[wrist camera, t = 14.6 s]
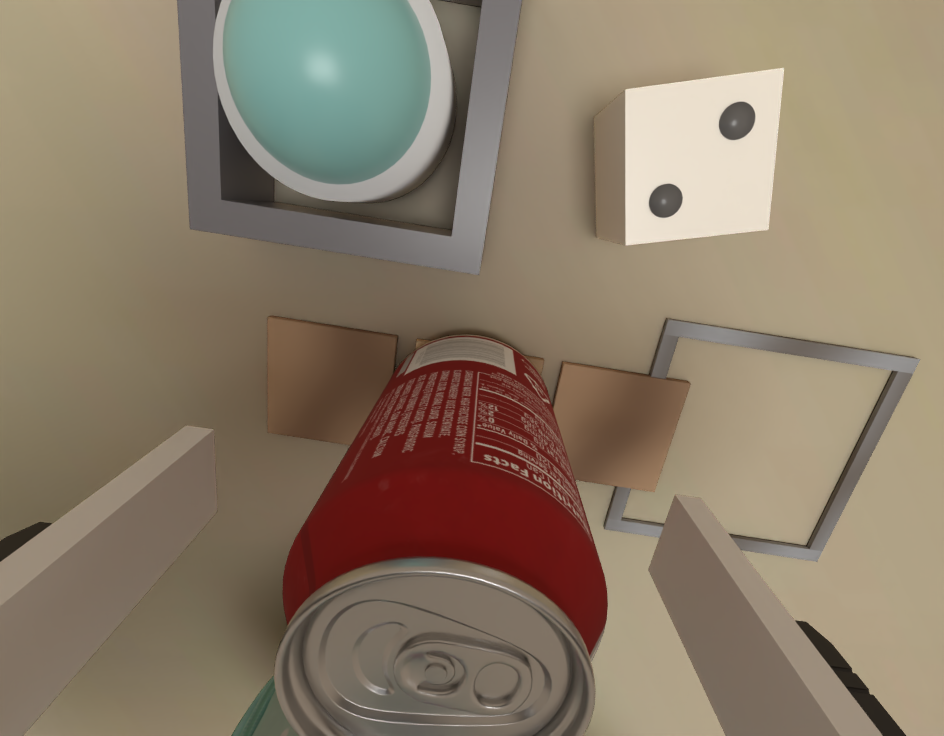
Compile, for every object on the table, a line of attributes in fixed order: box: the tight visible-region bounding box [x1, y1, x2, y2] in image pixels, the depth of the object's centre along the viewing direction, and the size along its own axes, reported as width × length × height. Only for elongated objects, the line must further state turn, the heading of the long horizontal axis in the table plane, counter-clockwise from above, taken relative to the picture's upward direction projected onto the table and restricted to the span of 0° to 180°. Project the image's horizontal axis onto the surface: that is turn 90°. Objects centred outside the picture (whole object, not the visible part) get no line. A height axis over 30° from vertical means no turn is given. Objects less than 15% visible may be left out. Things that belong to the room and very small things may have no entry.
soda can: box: [274, 335, 608, 736], centre depth 13 cm, size 7×7×12 cm
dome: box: [213, 0, 457, 203], centre depth 12 cm, size 6×6×5 cm
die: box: [594, 68, 784, 245], centre depth 14 cm, size 4×4×4 cm
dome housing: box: [177, 0, 522, 275], centre depth 14 cm, size 9×9×4 cm
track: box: [267, 316, 920, 562], centre depth 19 cm, size 26×10×1 cm, turn 81°
